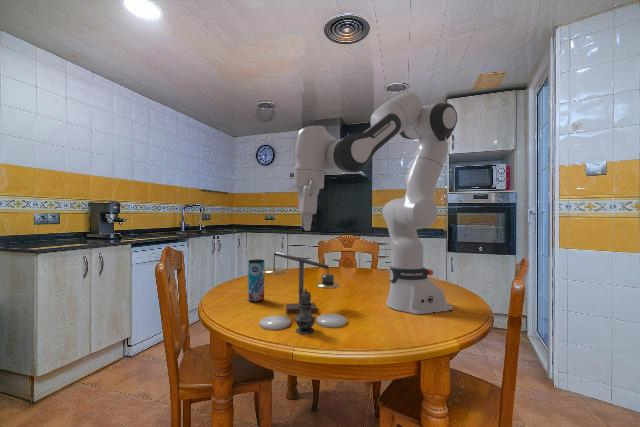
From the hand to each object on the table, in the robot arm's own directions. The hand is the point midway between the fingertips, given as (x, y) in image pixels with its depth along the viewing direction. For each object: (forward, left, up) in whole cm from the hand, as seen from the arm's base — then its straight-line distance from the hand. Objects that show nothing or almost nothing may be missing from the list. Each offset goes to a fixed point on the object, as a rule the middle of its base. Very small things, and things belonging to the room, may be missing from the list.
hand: (305, 229), depth 89 cm
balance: (0, -15, -29) cm, 32 cm away
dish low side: (-8, -3, -29) cm, 30 cm away
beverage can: (+16, -28, -29) cm, 44 cm away
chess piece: (0, +3, -29) cm, 29 cm away
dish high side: (+9, -3, -29) cm, 30 cm away
